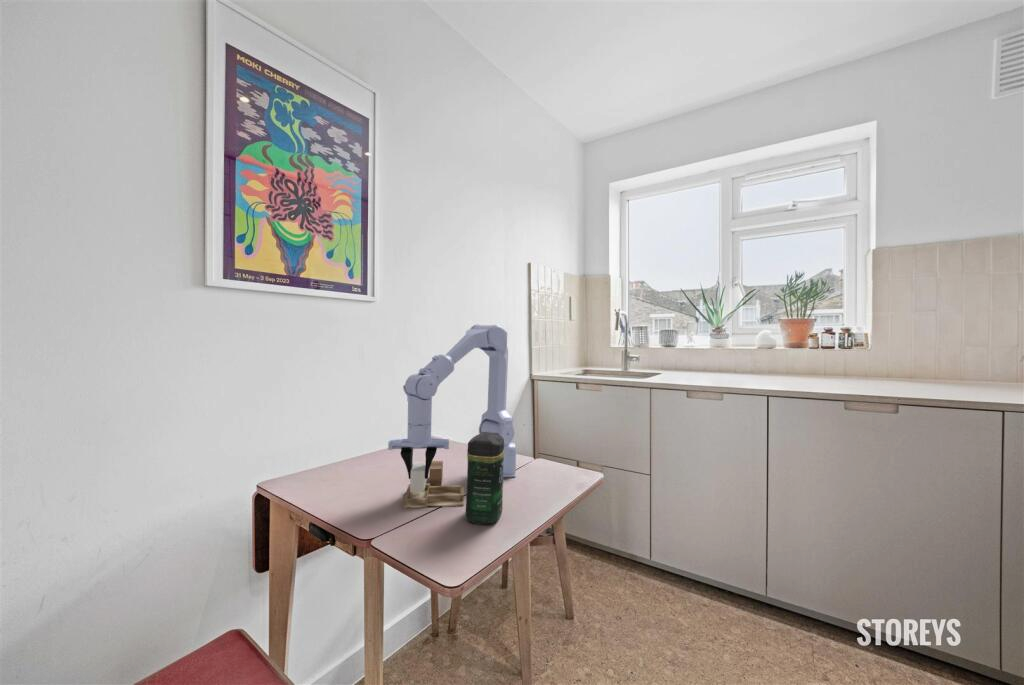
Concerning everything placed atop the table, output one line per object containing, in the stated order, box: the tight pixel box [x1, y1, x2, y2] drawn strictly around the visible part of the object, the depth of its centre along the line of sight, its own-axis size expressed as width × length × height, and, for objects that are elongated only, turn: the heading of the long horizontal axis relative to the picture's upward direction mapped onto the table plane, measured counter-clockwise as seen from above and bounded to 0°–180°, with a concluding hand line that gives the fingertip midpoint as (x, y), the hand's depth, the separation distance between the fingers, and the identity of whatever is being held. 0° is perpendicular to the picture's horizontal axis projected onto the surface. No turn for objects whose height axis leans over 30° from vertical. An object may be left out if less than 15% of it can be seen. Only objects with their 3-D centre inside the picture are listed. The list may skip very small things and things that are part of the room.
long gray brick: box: [409, 461, 427, 492], centre depth 99 cm, size 3×7×5 cm, turn 7°
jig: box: [402, 482, 465, 508], centre depth 99 cm, size 14×10×2 cm
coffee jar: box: [465, 432, 504, 525], centre depth 90 cm, size 10×8×19 cm
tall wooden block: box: [428, 460, 444, 486], centre depth 110 cm, size 7×3×5 cm, turn 7°
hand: (418, 477), depth 98 cm, fingers closed on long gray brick, 3 cm apart
